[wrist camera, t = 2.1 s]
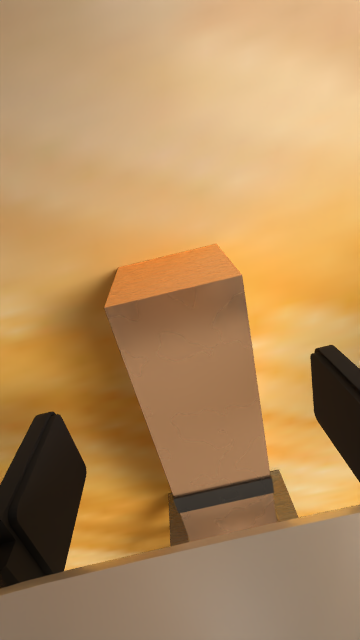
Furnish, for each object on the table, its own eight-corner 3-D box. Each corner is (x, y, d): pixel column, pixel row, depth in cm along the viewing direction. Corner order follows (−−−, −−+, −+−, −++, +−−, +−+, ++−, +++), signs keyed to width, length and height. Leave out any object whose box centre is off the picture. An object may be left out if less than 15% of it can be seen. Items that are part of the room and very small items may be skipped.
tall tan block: (117, 267, 16) (102, 309, 11) (217, 243, 15) (244, 275, 11) (185, 475, 23) (193, 553, 18) (254, 460, 22) (279, 535, 18)
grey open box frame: (168, 494, 23) (174, 644, 16) (279, 469, 23) (337, 611, 16) (186, 541, 26) (199, 687, 19) (285, 521, 26) (336, 660, 19)
